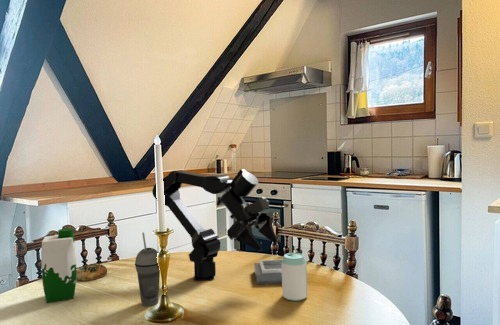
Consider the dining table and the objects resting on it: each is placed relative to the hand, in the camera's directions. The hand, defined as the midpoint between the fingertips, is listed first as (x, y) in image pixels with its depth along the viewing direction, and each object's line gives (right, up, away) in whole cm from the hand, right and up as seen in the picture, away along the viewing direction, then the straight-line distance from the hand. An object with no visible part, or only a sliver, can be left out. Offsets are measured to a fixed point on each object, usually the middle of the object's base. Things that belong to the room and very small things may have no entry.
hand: (269, 246), depth 109 cm
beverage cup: (-34, -15, -5) cm, 37 cm away
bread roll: (-61, -15, +19) cm, 66 cm away
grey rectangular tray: (+3, -13, +13) cm, 19 cm away
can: (+7, -14, -4) cm, 16 cm away
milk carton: (-62, -16, +1) cm, 64 cm away
